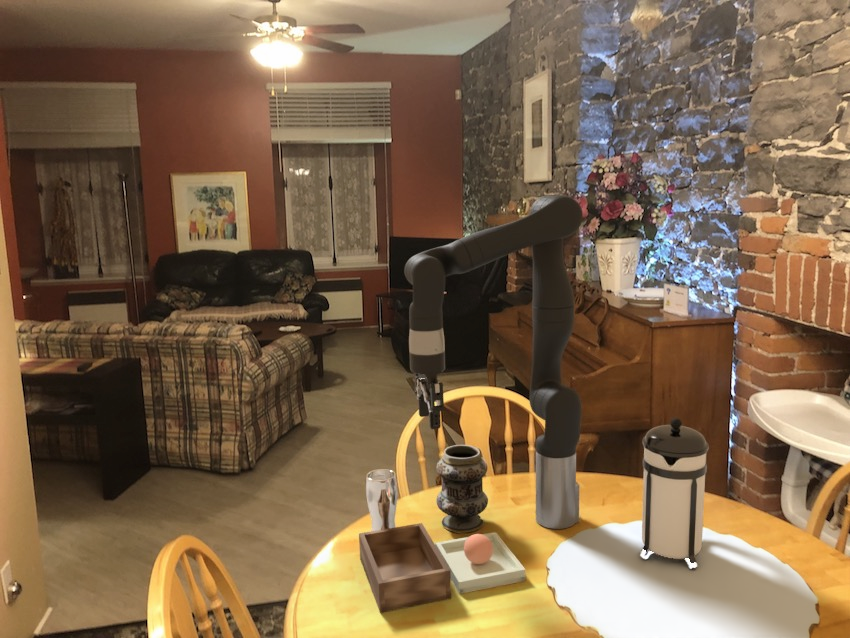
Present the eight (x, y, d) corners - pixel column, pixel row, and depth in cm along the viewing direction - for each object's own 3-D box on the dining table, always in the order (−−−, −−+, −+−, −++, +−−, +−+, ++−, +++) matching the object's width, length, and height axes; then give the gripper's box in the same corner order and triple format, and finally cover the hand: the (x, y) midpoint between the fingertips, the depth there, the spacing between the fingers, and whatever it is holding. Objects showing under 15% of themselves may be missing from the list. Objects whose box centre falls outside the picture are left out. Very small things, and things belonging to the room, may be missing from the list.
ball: (487, 552, 148) (486, 526, 147) (497, 566, 142) (496, 540, 141) (460, 557, 147) (459, 531, 145) (469, 572, 141) (469, 545, 140)
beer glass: (395, 545, 154) (392, 482, 152) (365, 543, 156) (361, 480, 153) (402, 530, 161) (399, 469, 158) (373, 528, 163) (370, 467, 160)
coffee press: (728, 564, 143) (736, 425, 137) (659, 577, 139) (664, 434, 133) (678, 525, 159) (683, 399, 153) (615, 536, 155) (618, 407, 150)
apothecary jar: (497, 529, 160) (496, 455, 157) (449, 540, 156) (447, 464, 152) (474, 507, 171) (473, 438, 168) (429, 517, 167) (427, 446, 163)
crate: (422, 548, 153) (422, 523, 152) (451, 598, 134) (450, 570, 133) (360, 559, 149) (358, 533, 148) (380, 612, 130) (378, 583, 129)
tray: (495, 542, 154) (495, 532, 154) (525, 580, 139) (525, 569, 139) (435, 553, 150) (435, 542, 150) (459, 593, 135) (458, 582, 135)
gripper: (454, 354, 141) (456, 430, 144) (434, 340, 155) (436, 410, 158) (418, 358, 139) (421, 435, 142) (401, 343, 153) (404, 414, 156)
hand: (429, 422), depth 150 cm, fingers open, 8 cm apart
